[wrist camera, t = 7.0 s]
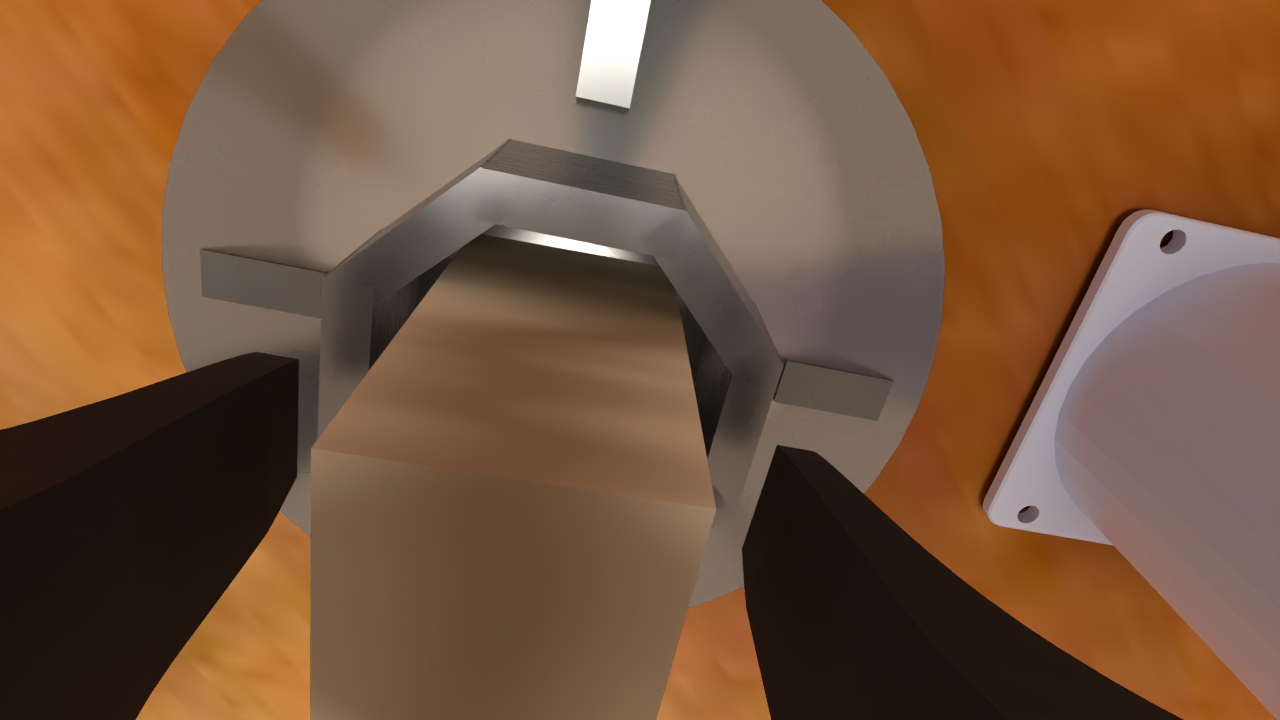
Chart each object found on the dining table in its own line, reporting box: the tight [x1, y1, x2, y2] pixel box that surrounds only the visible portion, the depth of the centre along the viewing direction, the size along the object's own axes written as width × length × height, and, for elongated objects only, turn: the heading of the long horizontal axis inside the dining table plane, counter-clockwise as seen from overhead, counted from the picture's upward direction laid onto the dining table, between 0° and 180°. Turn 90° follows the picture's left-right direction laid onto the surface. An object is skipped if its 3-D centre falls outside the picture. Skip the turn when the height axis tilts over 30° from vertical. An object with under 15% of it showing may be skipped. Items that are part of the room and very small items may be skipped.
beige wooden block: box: [310, 234, 716, 720], centre depth 12 cm, size 4×4×8 cm
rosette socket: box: [162, 0, 945, 608], centre depth 14 cm, size 16×16×4 cm
